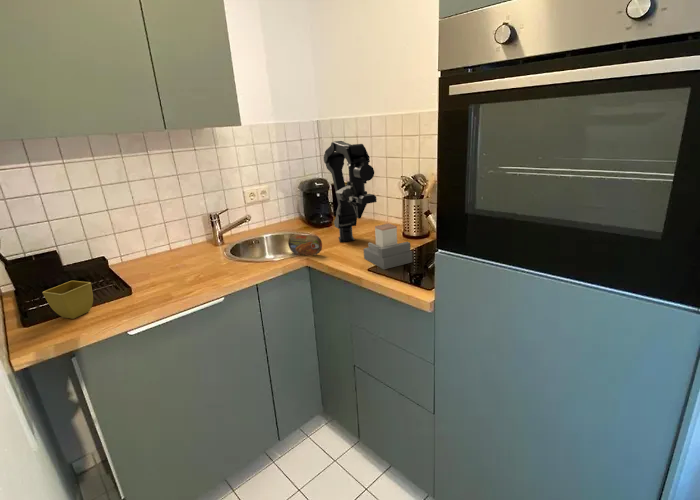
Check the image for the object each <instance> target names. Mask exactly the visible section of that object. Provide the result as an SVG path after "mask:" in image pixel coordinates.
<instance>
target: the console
mask: <svg viewBox="0 0 700 500" xmlns="http://www.w3.org/2000/svg"><path fill="white" fill-rule="evenodd" d="M367 245H368V247H364V248H363V259H364V260H365V261H367V262H370V263H371V264H373V265H375V266H377V267H378V268H380V269H382V270H388V269H391V268H394V267H395V268H396V267H399V266H403V265H406V264H407V265H408V264H410V263H413V251H412V249H411V242H409V241H403V242H401V243H400V242H399V243H398V242H397V243H394V244H390V245H387V246H386V247H382V248H380V247H379V246H377V245H376V243H373V242H368V243H367Z"/></svg>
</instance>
